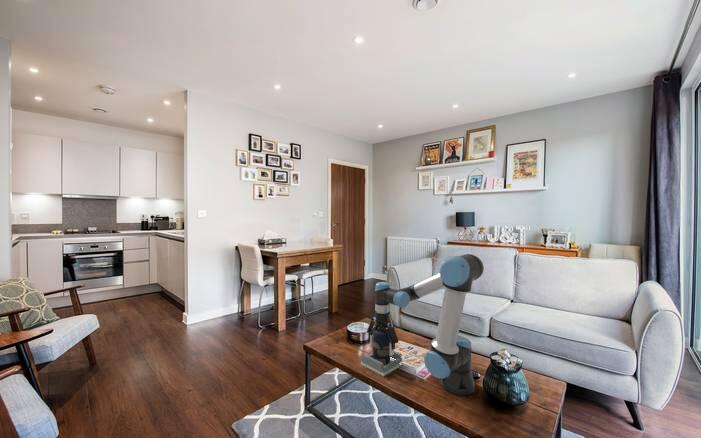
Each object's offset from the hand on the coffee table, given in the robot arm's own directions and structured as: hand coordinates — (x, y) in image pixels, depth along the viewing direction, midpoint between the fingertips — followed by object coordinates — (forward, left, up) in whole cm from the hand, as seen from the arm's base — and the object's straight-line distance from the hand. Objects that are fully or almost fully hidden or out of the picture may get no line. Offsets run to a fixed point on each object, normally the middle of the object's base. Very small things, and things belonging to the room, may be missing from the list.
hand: (381, 350), depth 157 cm
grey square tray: (0, 0, -8) cm, 8 cm away
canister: (0, 0, -6) cm, 6 cm away
